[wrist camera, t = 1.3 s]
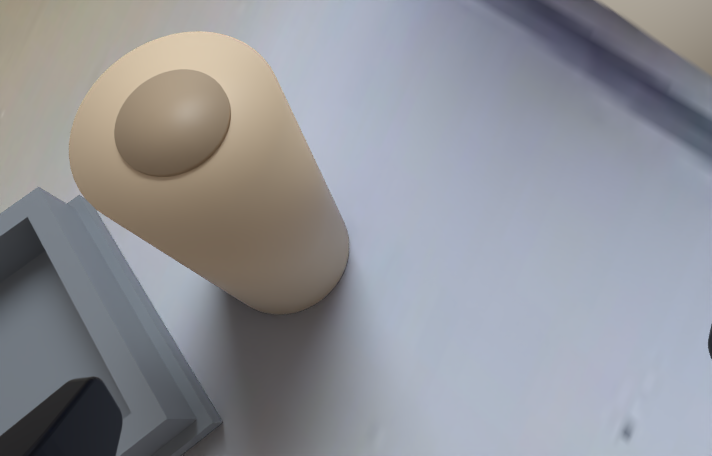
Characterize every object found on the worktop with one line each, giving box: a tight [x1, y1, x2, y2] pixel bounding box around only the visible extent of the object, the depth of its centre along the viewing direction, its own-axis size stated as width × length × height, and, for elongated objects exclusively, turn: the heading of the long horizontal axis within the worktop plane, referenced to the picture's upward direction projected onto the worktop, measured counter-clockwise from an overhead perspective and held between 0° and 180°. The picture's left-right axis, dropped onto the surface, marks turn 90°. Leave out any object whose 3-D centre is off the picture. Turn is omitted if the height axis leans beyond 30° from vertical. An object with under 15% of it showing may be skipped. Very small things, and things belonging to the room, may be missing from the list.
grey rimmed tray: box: [0, 187, 223, 456], centre depth 22 cm, size 13×13×4 cm
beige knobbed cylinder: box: [69, 31, 349, 315], centre depth 19 cm, size 6×6×11 cm
